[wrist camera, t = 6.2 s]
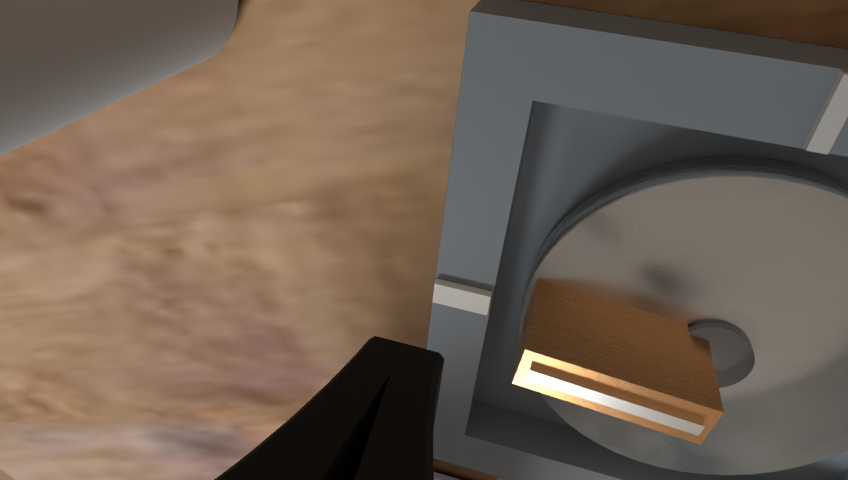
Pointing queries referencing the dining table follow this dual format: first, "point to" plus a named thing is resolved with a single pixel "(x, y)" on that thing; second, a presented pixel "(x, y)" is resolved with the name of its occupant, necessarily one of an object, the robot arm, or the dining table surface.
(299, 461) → the robot arm
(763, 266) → the dial
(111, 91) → the beverage can
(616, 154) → the slate tray
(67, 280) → the dining table surface
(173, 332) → the dining table surface
